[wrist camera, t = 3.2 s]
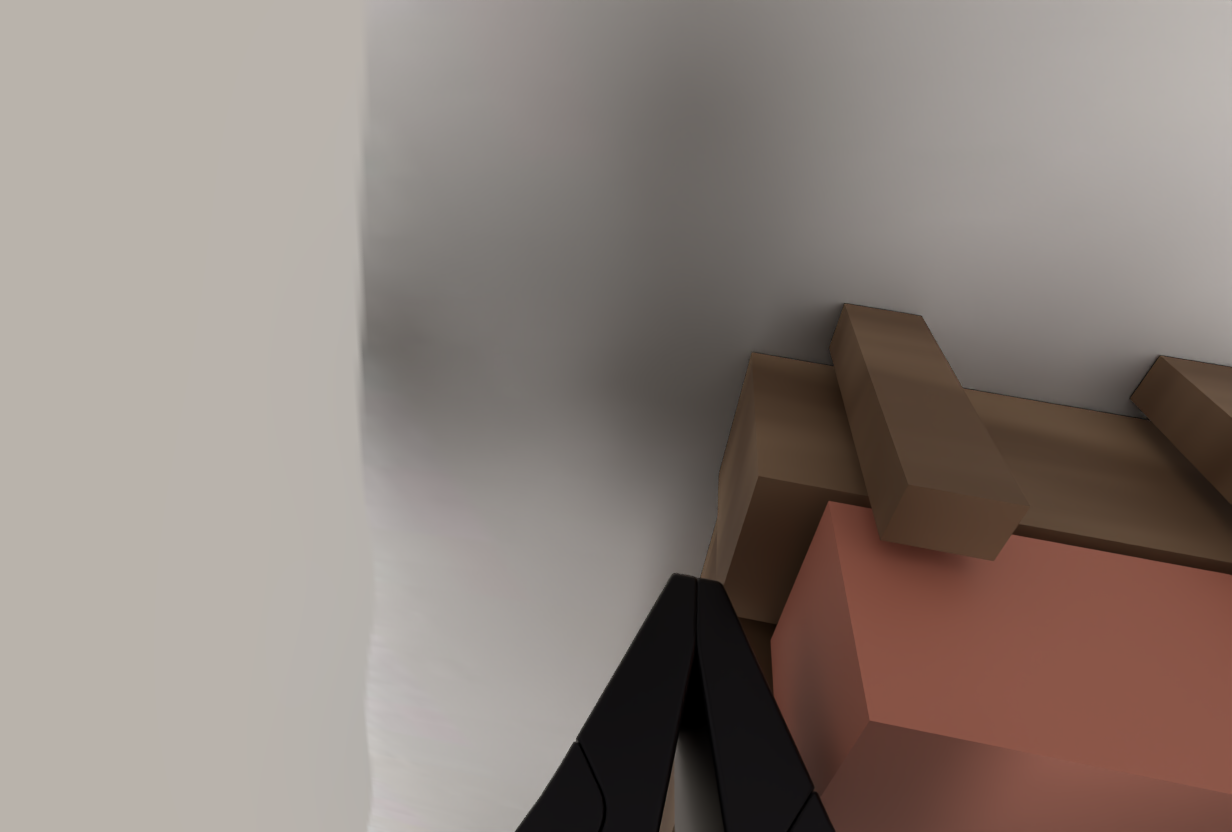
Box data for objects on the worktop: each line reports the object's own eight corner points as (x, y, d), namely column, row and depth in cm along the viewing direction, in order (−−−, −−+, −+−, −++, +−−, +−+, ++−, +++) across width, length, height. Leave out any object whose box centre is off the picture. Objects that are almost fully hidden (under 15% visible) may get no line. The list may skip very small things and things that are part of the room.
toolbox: (1223, 892, 22) (1346, 1120, 18) (639, 768, 24) (617, 952, 19) (1943, 485, 11) (2748, 817, 7) (768, 290, 12) (788, 463, 8)
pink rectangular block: (1282, 742, 11) (1475, 1006, 8) (770, 640, 12) (782, 854, 9) (1458, 616, 9) (1794, 908, 6) (828, 500, 10) (869, 720, 7)
